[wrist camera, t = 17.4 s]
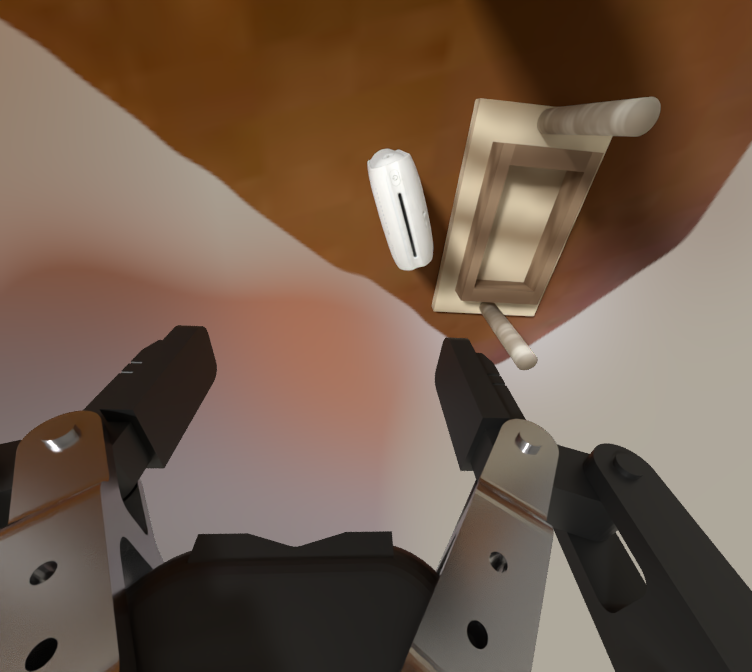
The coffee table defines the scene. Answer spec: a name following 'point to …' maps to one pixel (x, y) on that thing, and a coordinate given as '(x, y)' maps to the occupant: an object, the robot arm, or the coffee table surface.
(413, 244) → the photo printer
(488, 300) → the beige hollow frame piece
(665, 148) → the coffee table surface
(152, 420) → the robot arm
